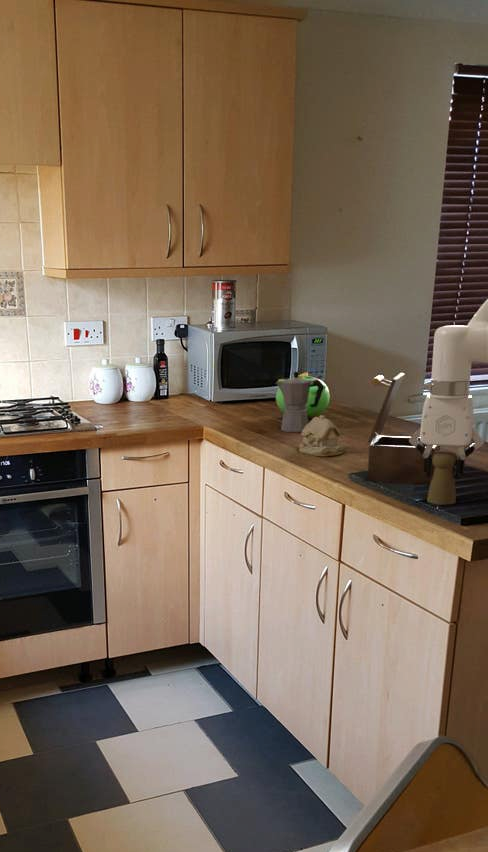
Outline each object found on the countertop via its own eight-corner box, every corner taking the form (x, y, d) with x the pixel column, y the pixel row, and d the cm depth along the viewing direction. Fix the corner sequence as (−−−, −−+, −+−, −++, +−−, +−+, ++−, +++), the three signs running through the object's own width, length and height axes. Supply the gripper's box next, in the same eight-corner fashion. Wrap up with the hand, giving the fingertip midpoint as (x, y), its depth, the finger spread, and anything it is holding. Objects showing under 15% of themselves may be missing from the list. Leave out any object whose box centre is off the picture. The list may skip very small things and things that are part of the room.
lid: (404, 373, 206) (383, 365, 208) (396, 380, 195) (373, 371, 197) (380, 434, 213) (359, 426, 214) (370, 443, 202) (349, 435, 203)
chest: (438, 474, 211) (440, 438, 208) (431, 486, 200) (434, 448, 197) (377, 471, 216) (378, 435, 213) (367, 482, 205) (369, 445, 202)
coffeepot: (270, 431, 274) (270, 372, 268) (280, 426, 282) (281, 369, 276) (317, 434, 267) (319, 374, 261) (326, 429, 275) (328, 370, 269)
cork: (447, 498, 189) (451, 447, 185) (461, 505, 183) (465, 453, 180) (421, 500, 188) (425, 449, 184) (434, 507, 182) (438, 455, 179)
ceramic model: (290, 449, 245) (291, 414, 242) (324, 445, 249) (325, 410, 246) (319, 458, 233) (320, 420, 230) (353, 453, 237) (355, 416, 234)
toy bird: (330, 414, 303) (331, 370, 298) (327, 422, 287) (328, 376, 283) (278, 413, 307) (278, 371, 302) (272, 421, 291) (273, 376, 287)
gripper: (404, 390, 178) (398, 478, 184) (493, 392, 171) (485, 483, 177) (409, 385, 184) (404, 470, 190) (495, 387, 178) (487, 475, 184)
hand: (443, 475), depth 184 cm, fingers closed on cork, 5 cm apart
